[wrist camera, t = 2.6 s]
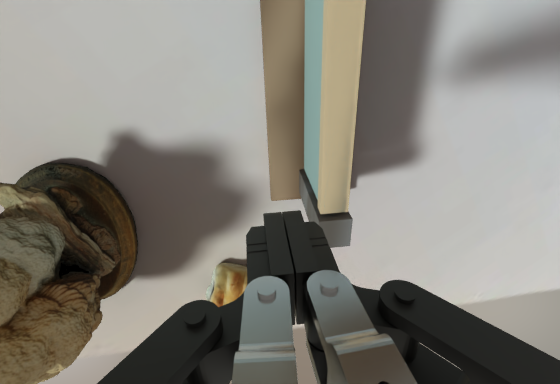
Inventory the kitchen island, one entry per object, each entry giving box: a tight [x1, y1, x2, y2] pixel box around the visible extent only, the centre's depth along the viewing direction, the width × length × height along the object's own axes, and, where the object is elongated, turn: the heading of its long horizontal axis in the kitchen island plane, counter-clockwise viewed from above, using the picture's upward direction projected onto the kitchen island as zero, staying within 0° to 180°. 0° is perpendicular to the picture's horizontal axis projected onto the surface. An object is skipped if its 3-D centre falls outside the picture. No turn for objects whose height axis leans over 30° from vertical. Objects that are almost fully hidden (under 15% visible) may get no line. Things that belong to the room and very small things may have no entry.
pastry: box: [206, 263, 247, 307], centre depth 36 cm, size 9×7×4 cm
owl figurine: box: [0, 163, 138, 384], centre depth 24 cm, size 18×12×17 cm, turn 172°
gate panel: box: [304, 0, 366, 214], centre depth 22 cm, size 2×14×8 cm, turn 2°
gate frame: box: [260, 0, 366, 248], centre depth 23 cm, size 8×21×10 cm, turn 2°
